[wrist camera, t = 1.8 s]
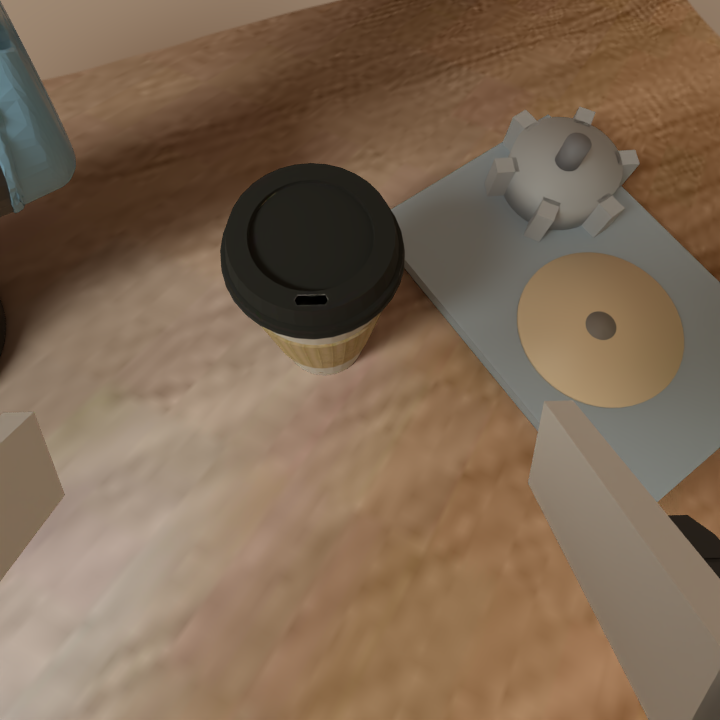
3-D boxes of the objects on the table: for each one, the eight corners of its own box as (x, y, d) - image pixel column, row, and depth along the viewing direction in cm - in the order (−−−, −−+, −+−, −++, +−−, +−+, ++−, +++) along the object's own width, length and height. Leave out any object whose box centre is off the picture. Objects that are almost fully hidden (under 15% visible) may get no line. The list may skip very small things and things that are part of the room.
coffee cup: (383, 281, 40) (403, 151, 25) (389, 396, 37) (416, 322, 22) (264, 283, 39) (216, 153, 25) (261, 400, 36) (204, 328, 22)
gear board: (372, 228, 41) (376, 181, 35) (546, 122, 45) (576, 63, 39) (617, 528, 34) (673, 531, 28) (798, 370, 38) (881, 345, 32)
